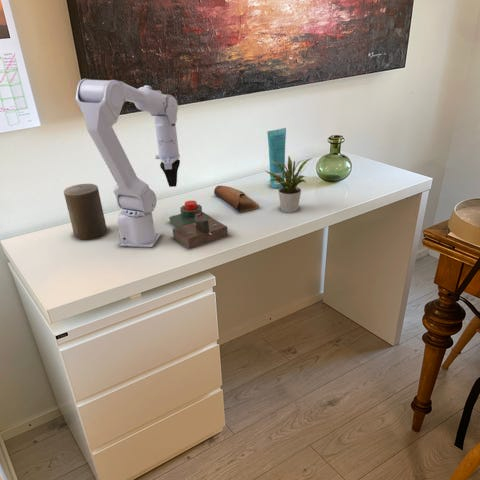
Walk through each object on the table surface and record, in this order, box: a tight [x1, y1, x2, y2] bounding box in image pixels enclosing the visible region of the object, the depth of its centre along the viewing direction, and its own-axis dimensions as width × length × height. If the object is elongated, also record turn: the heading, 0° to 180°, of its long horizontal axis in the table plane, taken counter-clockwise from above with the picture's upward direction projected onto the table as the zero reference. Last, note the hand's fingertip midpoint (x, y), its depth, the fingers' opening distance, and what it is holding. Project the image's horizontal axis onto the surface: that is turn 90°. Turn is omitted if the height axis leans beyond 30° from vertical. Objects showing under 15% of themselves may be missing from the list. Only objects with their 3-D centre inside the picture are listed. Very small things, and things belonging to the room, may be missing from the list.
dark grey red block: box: [195, 213, 209, 233], centre depth 140 cm, size 6×2×4 cm, turn 30°
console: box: [172, 217, 229, 250], centre depth 142 cm, size 13×11×3 cm
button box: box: [168, 203, 212, 228], centre depth 152 cm, size 10×9×4 cm
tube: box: [266, 127, 287, 189], centre depth 171 cm, size 7×5×19 cm, turn 127°
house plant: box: [265, 155, 313, 213], centre depth 155 cm, size 14×14×16 cm
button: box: [184, 200, 198, 211], centre depth 152 cm, size 4×4×2 cm
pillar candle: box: [63, 183, 108, 241], centre depth 145 cm, size 10×10×15 cm
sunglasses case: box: [213, 185, 260, 213], centre depth 164 cm, size 18×7×7 cm
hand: (172, 185), depth 150 cm, fingers closed
